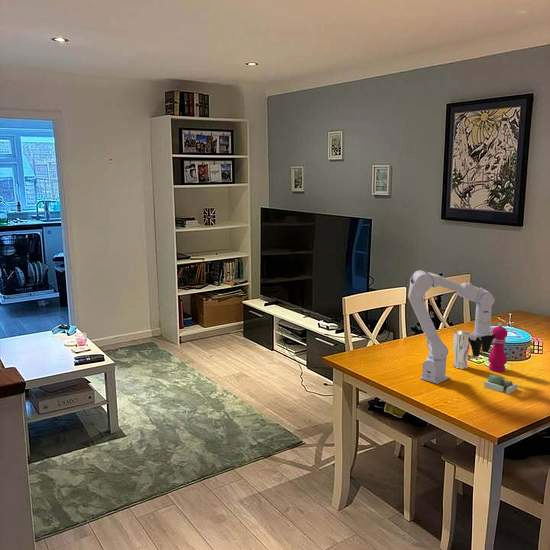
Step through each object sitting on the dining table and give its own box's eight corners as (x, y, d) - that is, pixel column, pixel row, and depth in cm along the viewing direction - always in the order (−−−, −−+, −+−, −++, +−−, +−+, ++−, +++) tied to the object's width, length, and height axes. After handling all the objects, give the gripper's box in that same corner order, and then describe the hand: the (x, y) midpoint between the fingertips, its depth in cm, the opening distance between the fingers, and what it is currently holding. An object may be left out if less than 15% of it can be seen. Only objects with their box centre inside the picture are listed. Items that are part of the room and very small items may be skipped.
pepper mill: (505, 367, 230) (508, 321, 227) (507, 373, 223) (510, 326, 220) (486, 365, 232) (489, 320, 228) (488, 371, 225) (491, 325, 222)
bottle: (487, 386, 210) (509, 391, 205) (488, 376, 209) (509, 380, 204) (491, 383, 213) (513, 388, 208) (492, 373, 212) (513, 377, 207)
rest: (508, 394, 203) (509, 389, 202) (484, 386, 210) (484, 382, 209) (517, 389, 207) (517, 384, 207) (493, 382, 214) (493, 377, 214)
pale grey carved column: (450, 367, 230) (451, 333, 227) (454, 362, 236) (455, 329, 233) (467, 370, 227) (469, 336, 224) (470, 365, 233) (472, 331, 230)
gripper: (483, 326, 206) (481, 360, 208) (501, 319, 215) (499, 352, 218) (466, 322, 211) (464, 356, 213) (484, 315, 220) (482, 347, 223)
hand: (480, 353), depth 216 cm, fingers open, 7 cm apart
